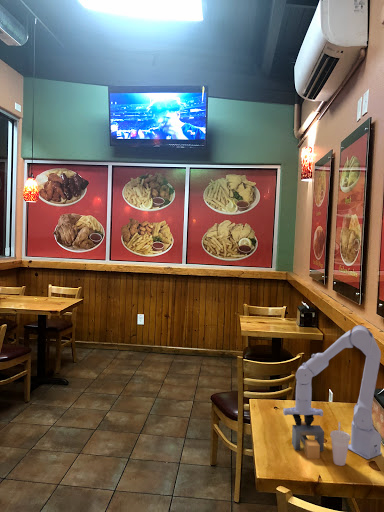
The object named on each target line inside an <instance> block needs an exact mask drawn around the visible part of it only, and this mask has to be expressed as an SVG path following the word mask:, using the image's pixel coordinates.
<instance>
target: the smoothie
mask: <svg viewBox="0 0 384 512" xmlns="http://www.w3.org/2000/svg"><path fill="white" fill-rule="evenodd" d="M329 436H330V438H331V447H332V450H331V451H332V459H333V463H334V464H335V466H336V465H337V466H345V465H346V462H347V457H348V455H347V454H348V450H349V449H348V445H349V443H350V442H351V434H349V433H347V432H345V431H344V430H341V421H338V429H337V430H336V429H335V430H331V431H330V435H329Z"/></svg>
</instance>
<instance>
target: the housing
mask: <svg viewBox="0 0 384 512" xmlns="http://www.w3.org/2000/svg"><path fill="white" fill-rule="evenodd" d="M291 433H292V434H291V445H292V447H293V449H294V451H299V452H300V451H301V442H302V440H301V435H302V436H306V437H307V436H309V437H312V436H313V437H314V438H313V440H317V442H318V443H319V445H320V452H324V446H325V443H324V442H325V431H324V429H323V428H322V427H321V425H319V424H318V425H317V424H316V425H315V424H313V425H312V424H311V425H296V424H292V431H291Z"/></svg>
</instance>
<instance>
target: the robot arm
mask: <svg viewBox="0 0 384 512" xmlns="http://www.w3.org/2000/svg"><path fill="white" fill-rule="evenodd" d="M354 347H355V348H356V349H359V350H360V351H361V352H362V353H363V354H364V355H365V362H364V366H363V367H364V368H363V373H362V379H361V384H360V390H359V396H358V399H357V403H356V404H355V405H354V406H353V416H352V421H351V429H350V430H351V432H350V444H349V445H348V450H350V451H352V453H355V454H357V455H358V456H361V457H362V458H364V459H366V460H369V459H372V458H375V457H377V456H378V457H379V456H381V455H382V451H381V448H382V444H381V443H382V435H381V433H380V432H378V431H377V430H376V429H375V427H374V424H373V401H374V395H375V391H376V385H377V380H378V373H379V369H380V363H381V358H382V357H381V356H382V351H381V349H380V347H379V346H378V343H377V341H376V339H375V337H374V335H373V333H372V332H371V330H369V329H368V327H366V326H364V325H355V326H354V327H353V328H352V329H349V330H348V331H346V332H345V333H344V334H343V335H341V336H340V337H339V338H338V339H336V340H335V342H334V343H332V344H331V345H330V346H329V347H328V348H327V349H326V350H324V352H317V353H312V354H311V358H309V359H308V360H307V361H305V362H303V363H302V364H301V365H300V366H299V367H298V369H297V370H296V372H295V380H296V382H295V383H296V385H295V405H294V406H293V407H287V408H285V407H283V411H282V413H283V415H284V416H288V415H289V416H292V417H293V419H294V423H295V425H301V421H302V420H303V419H302V417H301V416H303V418H304V420H303V421H305V423H306V425H312V423H313V422H314V420H315V417H314V416H319V417H323V416H324V411H323V409H322V408H314V407H312V392H313V391H312V390H313V388H312V380H313V377H315V376H317V375H319V374H320V373H321V372H322V371H324V369H326V368H327V367H328V366H329V361H330V360H331V359H333V358H334V357H335V356H336V355H337V354H339V353H340V352H342V351H343V350H344V349H346V348H347V349H352V348H354Z"/></svg>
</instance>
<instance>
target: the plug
mask: <svg viewBox="0 0 384 512" xmlns="http://www.w3.org/2000/svg"><path fill="white" fill-rule="evenodd" d="M301 425H306V423H305V421H304V420H303V421H301ZM301 442H302V444H303V446H304V453H305V456H306V458H307V459H318V460H319V459H320V455H321V453H320V452H321V451H320V445H319V443H318V442H317V440H314V439H309V438H308V437H307V436H302V435H301Z"/></svg>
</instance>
